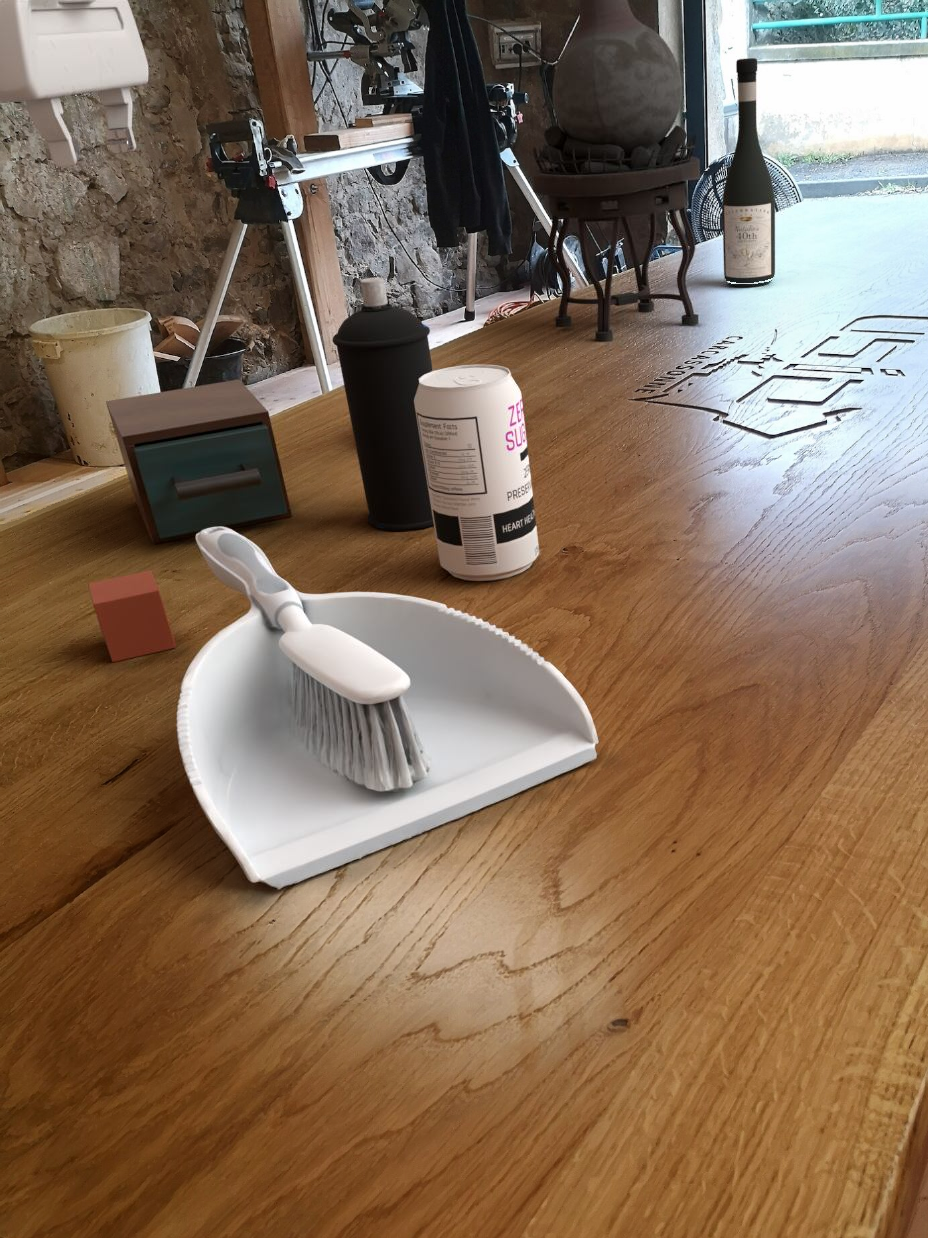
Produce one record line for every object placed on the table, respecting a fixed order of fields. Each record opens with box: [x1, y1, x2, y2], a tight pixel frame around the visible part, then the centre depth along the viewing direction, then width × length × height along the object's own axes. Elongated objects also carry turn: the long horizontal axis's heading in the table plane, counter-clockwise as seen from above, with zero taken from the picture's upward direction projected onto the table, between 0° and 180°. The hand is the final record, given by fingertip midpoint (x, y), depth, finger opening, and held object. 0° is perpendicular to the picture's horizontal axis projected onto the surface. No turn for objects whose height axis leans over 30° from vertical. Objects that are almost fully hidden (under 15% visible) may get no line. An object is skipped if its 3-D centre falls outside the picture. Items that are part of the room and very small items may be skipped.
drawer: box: [133, 423, 287, 539], centre depth 113 cm, size 18×11×8 cm, turn 25°
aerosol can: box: [331, 276, 434, 532], centre depth 108 cm, size 8×8×20 cm
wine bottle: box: [721, 57, 776, 288], centre depth 188 cm, size 8×8×30 cm
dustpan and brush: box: [176, 527, 600, 891], centre depth 79 cm, size 23×33×10 cm
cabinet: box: [105, 379, 293, 545], centre depth 117 cm, size 15×13×10 cm
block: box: [87, 570, 177, 663], centre depth 92 cm, size 5×5×5 cm
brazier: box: [531, 0, 701, 342], centre depth 165 cm, size 22×22×45 cm
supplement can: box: [414, 363, 540, 582], centre depth 98 cm, size 8×8×15 cm
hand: (98, 158), depth 102 cm, fingers open, 8 cm apart
